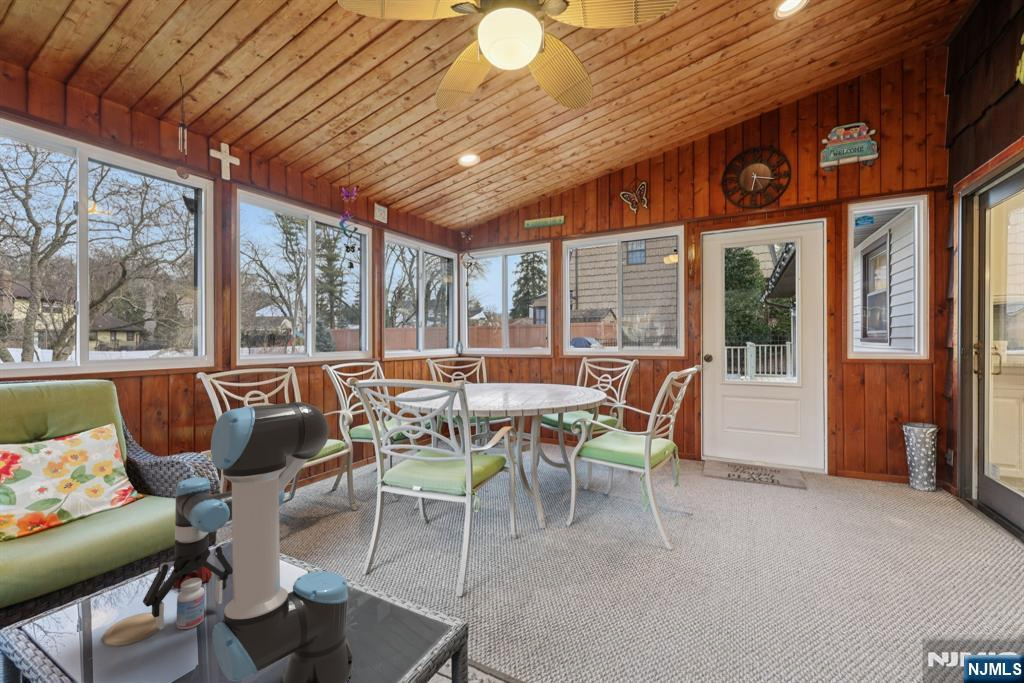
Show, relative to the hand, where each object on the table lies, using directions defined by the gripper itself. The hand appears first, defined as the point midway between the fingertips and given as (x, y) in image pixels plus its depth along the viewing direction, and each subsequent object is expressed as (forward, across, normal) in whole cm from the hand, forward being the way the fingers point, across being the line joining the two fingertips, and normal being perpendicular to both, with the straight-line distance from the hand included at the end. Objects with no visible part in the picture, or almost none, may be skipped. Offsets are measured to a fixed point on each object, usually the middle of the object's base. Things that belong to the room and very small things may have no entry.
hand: (190, 613), depth 120 cm
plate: (+2, +10, -8) cm, 13 cm away
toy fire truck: (+3, -7, -21) cm, 22 cm away
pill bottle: (+3, 0, 0) cm, 3 cm away
